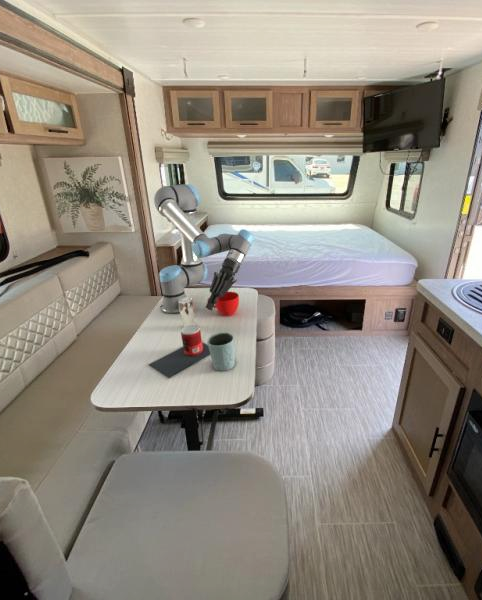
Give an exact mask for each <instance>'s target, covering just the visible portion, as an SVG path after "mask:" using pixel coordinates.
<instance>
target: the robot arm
mask: <svg viewBox="0 0 482 600" xmlns="http://www.w3.org/2000/svg"><path fill="white" fill-rule="evenodd" d="M153 203H154V207H155V209H156V210H157V212H158V213H159V214H160V215H161V216H162V217H165V218H167V220H168V221H170V223H171V224H172V225H173V226H174V227H175V228H176V229H177V230H178V231H179V237H180V238H179V239H180V246H181V253H182V260H181V261H180V265H177V264H173V265H168V266H166V267H163V268H162V269H160V271H159V282H160V287H161V292H162V304H161V305H160V308H161V311H162V312H163V313H165V314H180V311H179V302H178V301H179V300H180V299H182V298H188V297H187V295H186V293H185V288H187V287H190V286H193V285H197V284H200V283H202V282H204V281H206V280H207V277H208V266H207V265H206V263H205V262H204V261H203V259H202V258H209V257H210V256H213V255H217V254H221V253H225V252H227V254H226V256H225V258H224V259H223V262H222V264H221V269H219V271H218V272H217V271H215V272H213V278H212V281H211V285H210V287H209V291H208V292H209V293H210V296H209V297H208V299H209V300H208V299H207V300H208V302H207V303H206V305H205V308H206V309H207V310H209V311H211V312H212V311H213V309H214V306H215V304H216V303H217V301H218V299H219V297H224V296H225V294H226V293H227V292H229V290H230V289H231V288H232V286H233V285H234V284H235V283H237V281H238V279H237V278H236V274H237V273H238V272H239V270H240V268H241V266H242V264H243V262H244V260H245V259H246V256H247V254H248V253H249V250H250V248H251V247H252V246H253V242H254V240H255V236H254V234H253V233H252V232H251V231H249V230H247V229H240V230H239V231H238V233H237V234H232V233H220V234H218V235H217V236H213V237H208V235H206V234H205V232H203V231H202V229H201V228H199V227H198V225H197V224H196V220H195V214H196V212H197V207H198V206H199V205H200V203H201V198H200V194H199V191H198V190H197V188H196V187H195V186H194V185H192V184H189V183H188V184H187V183H185V184H184V183H183V184H172V185H164V186H162V187H160V188H158V189H157V190H156V192H155V194H154V197H153ZM222 293H223V294H222Z"/></svg>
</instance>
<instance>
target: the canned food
mask: <svg viewBox="0 0 482 600" xmlns="http://www.w3.org/2000/svg"><path fill="white" fill-rule="evenodd" d="M180 335H181V336H180V337H181V342H182V347H183V348H184V353H185V354H186V355H187V356H196V355H198V354H200V353H201V352H202V350H203V346H202V343H203V341H202V335H201V328H200V326H199V325H197V324H195V325H188V326H185V327H181V329H180Z"/></svg>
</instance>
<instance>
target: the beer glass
mask: <svg viewBox="0 0 482 600" xmlns="http://www.w3.org/2000/svg"><path fill="white" fill-rule="evenodd" d="M178 302H179V311H180V312H179V314H180V317H181V320H182V323H183V327H185V326H188V325H196V322H195V304H194V301H193V298H192V297H187V298H182V299H180V300H179V301H178ZM183 327H182V328H183Z"/></svg>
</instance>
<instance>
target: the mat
mask: <svg viewBox="0 0 482 600" xmlns="http://www.w3.org/2000/svg"><path fill="white" fill-rule="evenodd" d="M202 346H203V350H202V352H201V353H200V354H198V355H196V356H187V355H186V354H185V353H184V348H183V346H182V347H180V348H178V349H176V350H174V351H173V352H171V353H168V354H166V355H164V356H163V357H160V358H159V359H157V360H154V361H152V362H151V363H149V364H148V365H149V366H150V367H151V368H152V369H155V370H156V371H158V372H159V373H160V374H162V375H163V376H165V377H166V378H168V379H170V378H171V377H173V376H175V375H177V374H179V373H180V372H182V371H184V370H186V369H187V368H189V367H190V366H192V365H194V364H196V363H198V362H199V361H201V360H203V359H204V358H206V357H208V356H211V354H210V350H209V347H208V344H207V343H204V342H202Z"/></svg>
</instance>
